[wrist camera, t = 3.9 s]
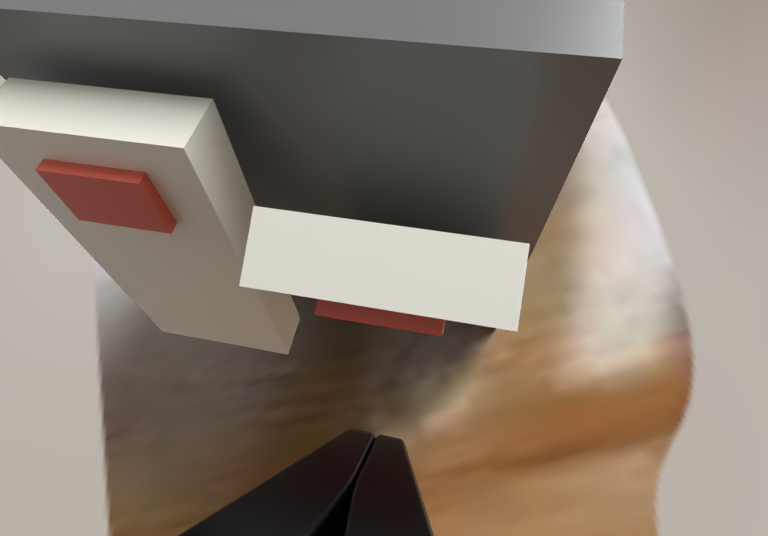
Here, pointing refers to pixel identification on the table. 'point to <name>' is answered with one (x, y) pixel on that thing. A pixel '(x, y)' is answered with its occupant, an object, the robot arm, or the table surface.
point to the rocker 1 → (148, 202)
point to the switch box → (358, 94)
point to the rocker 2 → (386, 271)
